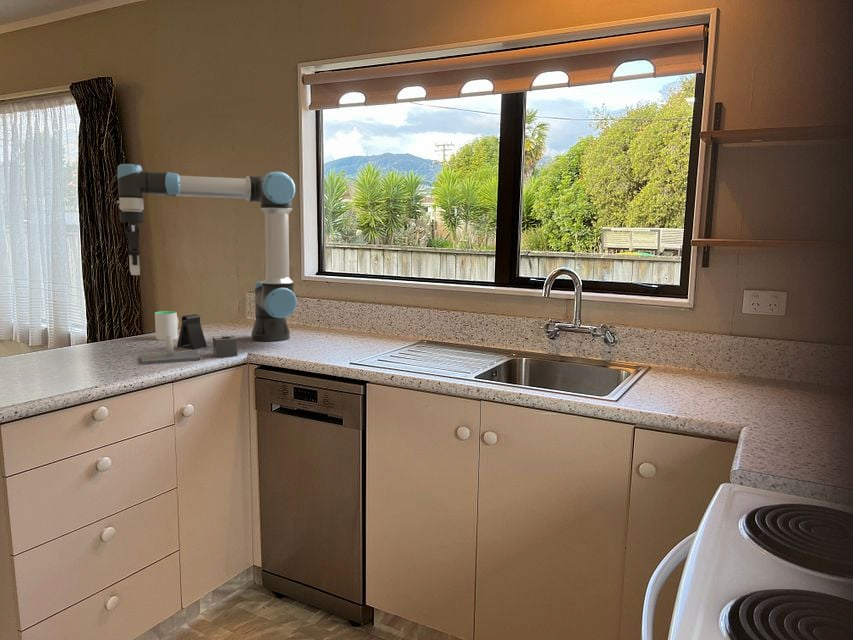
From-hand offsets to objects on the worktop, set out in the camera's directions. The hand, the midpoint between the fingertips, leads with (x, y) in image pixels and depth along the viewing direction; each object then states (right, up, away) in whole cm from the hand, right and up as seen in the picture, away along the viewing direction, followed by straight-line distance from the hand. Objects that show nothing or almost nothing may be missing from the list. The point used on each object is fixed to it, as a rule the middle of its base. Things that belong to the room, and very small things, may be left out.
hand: (134, 273), depth 217 cm
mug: (-3, -23, +36) cm, 42 cm away
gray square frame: (+30, -28, +4) cm, 41 cm away
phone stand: (+13, -26, +17) cm, 34 cm away
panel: (+14, -29, -4) cm, 33 cm away
